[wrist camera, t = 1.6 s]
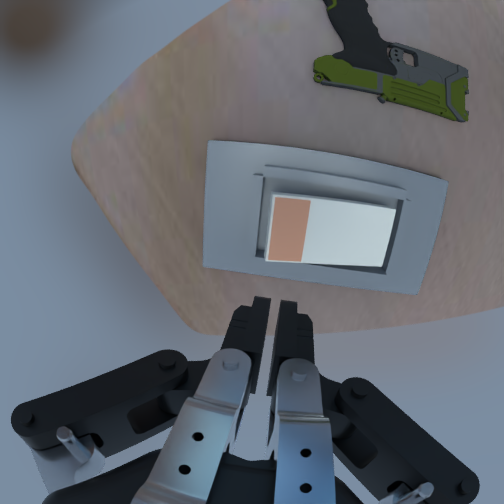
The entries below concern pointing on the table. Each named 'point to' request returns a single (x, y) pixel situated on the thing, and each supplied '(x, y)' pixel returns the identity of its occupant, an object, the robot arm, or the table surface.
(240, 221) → the panel
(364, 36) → the gun
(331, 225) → the rocker
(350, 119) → the table surface
